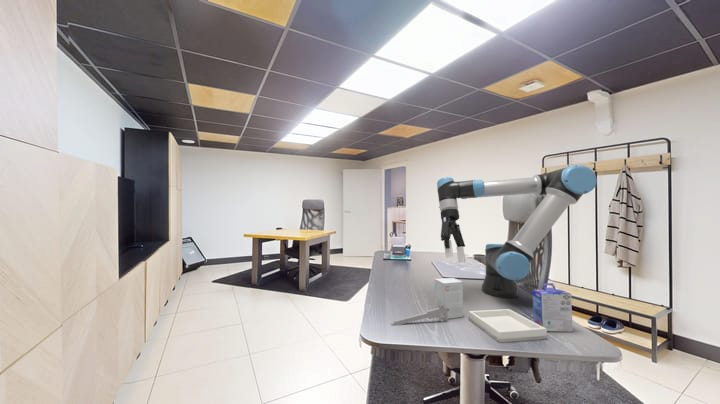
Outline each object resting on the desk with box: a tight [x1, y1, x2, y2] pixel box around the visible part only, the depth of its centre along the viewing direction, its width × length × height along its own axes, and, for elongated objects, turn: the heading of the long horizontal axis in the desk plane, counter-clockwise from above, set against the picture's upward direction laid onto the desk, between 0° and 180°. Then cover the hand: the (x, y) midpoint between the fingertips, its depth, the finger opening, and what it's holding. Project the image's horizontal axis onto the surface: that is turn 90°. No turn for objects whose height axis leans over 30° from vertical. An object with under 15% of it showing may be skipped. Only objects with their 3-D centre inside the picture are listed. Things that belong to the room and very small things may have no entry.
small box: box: [434, 277, 464, 320], centre depth 96 cm, size 8×6×13 cm
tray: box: [468, 308, 548, 344], centre depth 85 cm, size 16×16×3 cm
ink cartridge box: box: [531, 282, 574, 333], centre depth 86 cm, size 10×6×14 cm, turn 89°
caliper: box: [390, 304, 449, 326], centre depth 89 cm, size 20×1×6 cm, turn 99°
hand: (456, 259), depth 104 cm, fingers open, 13 cm apart
